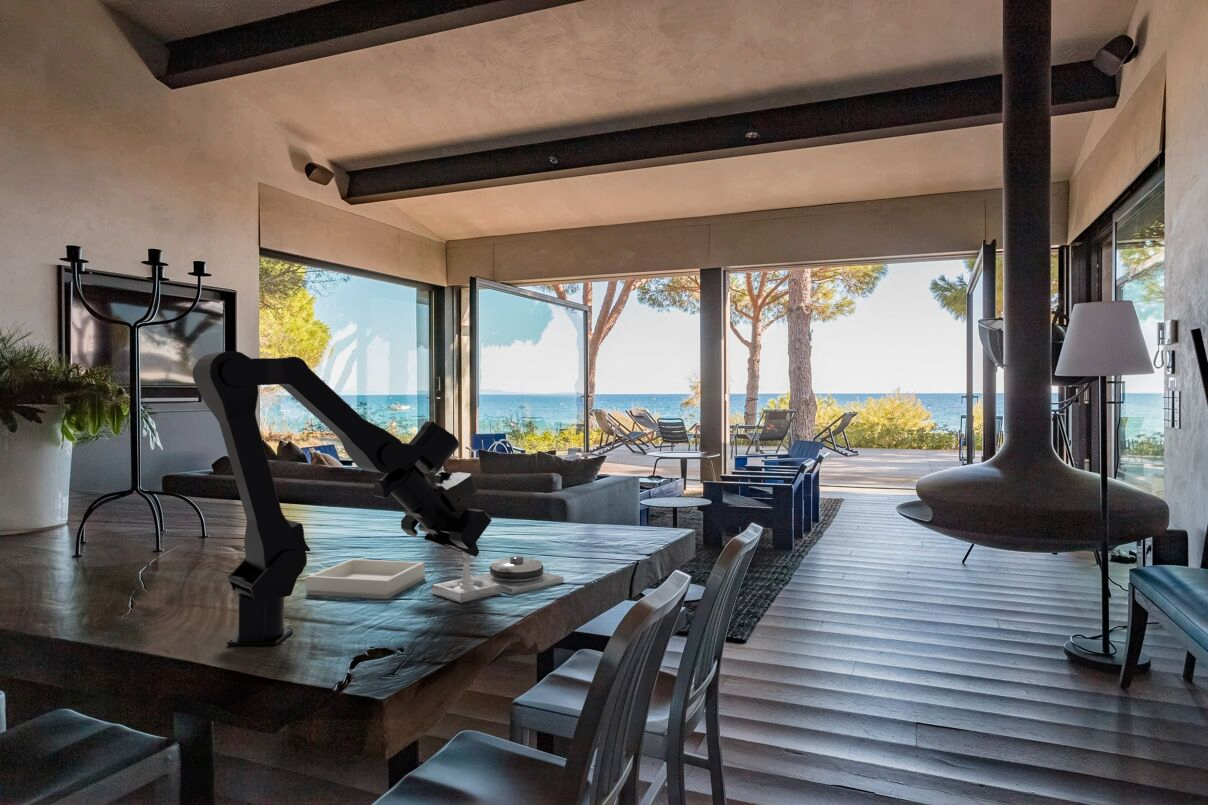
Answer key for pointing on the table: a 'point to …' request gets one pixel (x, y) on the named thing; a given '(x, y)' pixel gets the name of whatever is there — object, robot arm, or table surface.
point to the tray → (366, 578)
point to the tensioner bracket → (501, 580)
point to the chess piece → (466, 575)
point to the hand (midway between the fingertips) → (473, 553)
